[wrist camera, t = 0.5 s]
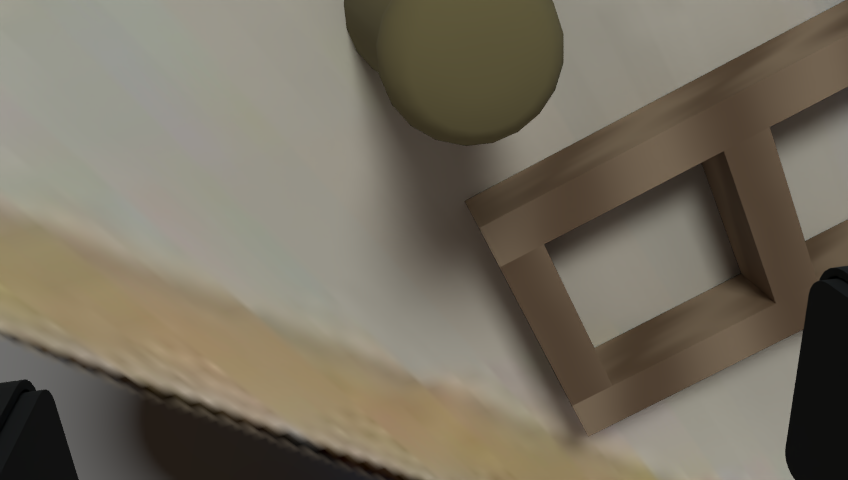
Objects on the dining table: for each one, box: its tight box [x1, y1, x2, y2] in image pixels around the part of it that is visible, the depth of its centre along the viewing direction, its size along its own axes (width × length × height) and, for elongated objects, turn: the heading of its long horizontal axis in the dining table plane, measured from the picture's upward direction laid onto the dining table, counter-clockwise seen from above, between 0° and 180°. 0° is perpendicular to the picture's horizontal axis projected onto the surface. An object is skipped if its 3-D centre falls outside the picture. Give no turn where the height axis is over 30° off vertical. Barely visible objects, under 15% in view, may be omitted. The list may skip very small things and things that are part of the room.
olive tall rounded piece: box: [344, 0, 563, 146], centre depth 25 cm, size 6×6×11 cm
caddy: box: [465, 0, 848, 437], centre depth 34 cm, size 22×12×3 cm, turn 117°
